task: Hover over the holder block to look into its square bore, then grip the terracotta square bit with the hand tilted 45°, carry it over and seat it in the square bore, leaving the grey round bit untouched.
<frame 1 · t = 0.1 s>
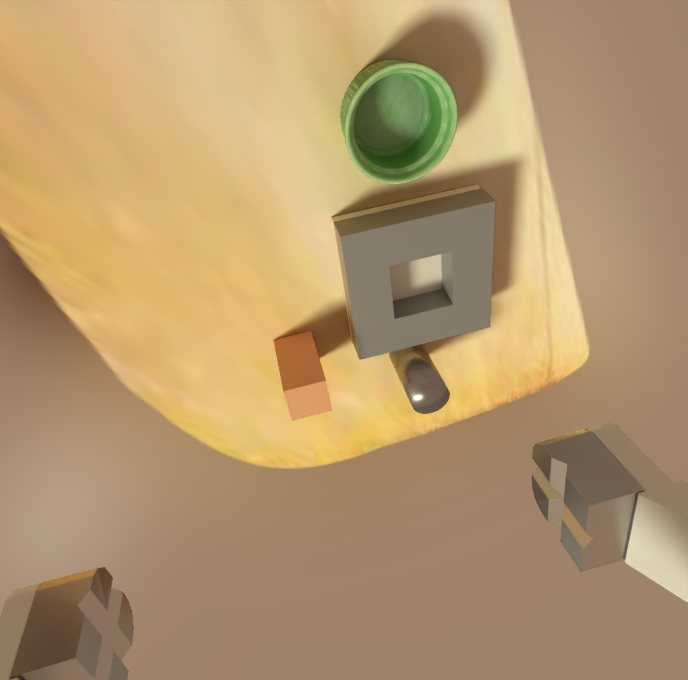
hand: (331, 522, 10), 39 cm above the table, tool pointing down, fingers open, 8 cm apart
round bit: (406, 351, 60), on the table
square bit: (296, 349, 57), on the table
holder block: (409, 265, 54), on the table
ramekin: (385, 111, 45), on the table
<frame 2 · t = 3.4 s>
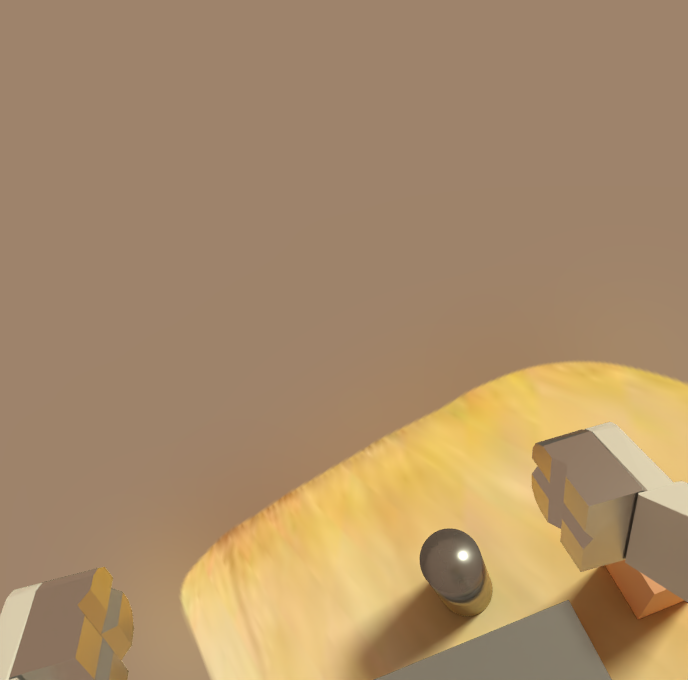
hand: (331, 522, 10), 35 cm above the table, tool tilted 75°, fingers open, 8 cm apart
round bit: (465, 587, 41), on the table
square bit: (646, 579, 38), on the table
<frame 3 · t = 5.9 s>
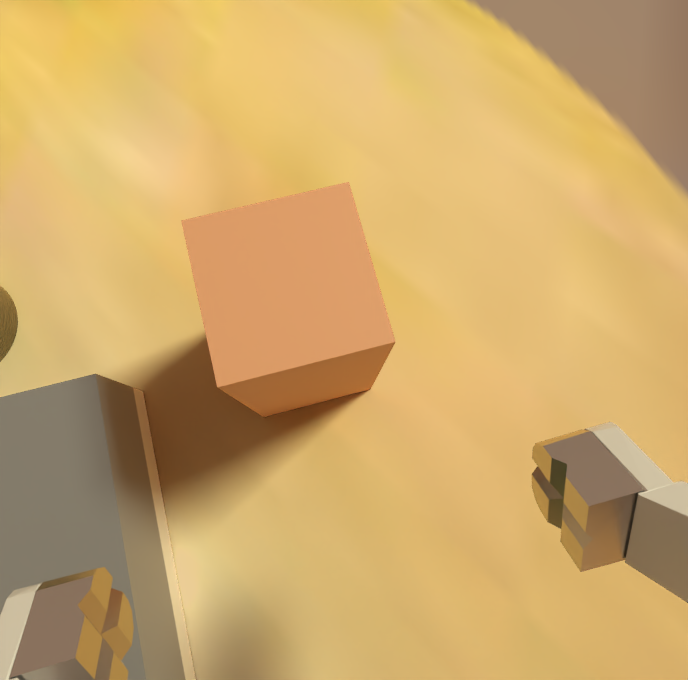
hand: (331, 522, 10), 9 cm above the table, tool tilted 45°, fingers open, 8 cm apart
square bit: (304, 350, 20), on the table
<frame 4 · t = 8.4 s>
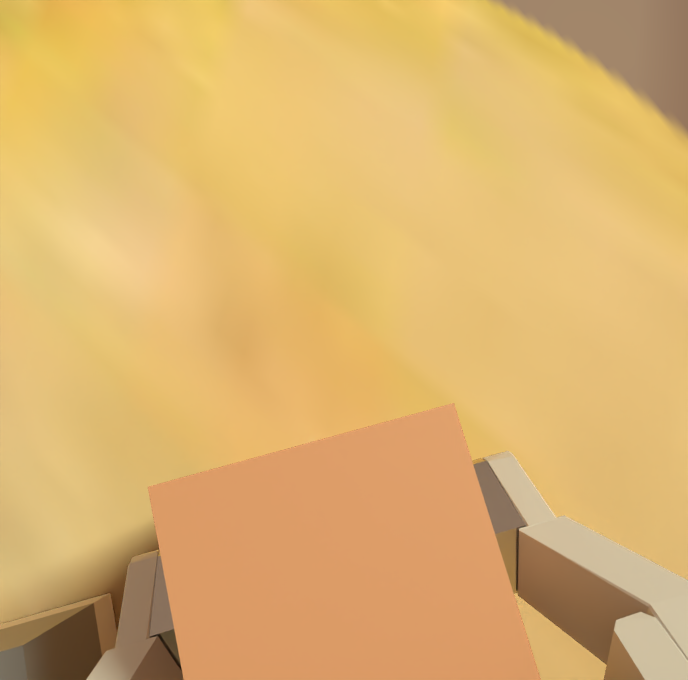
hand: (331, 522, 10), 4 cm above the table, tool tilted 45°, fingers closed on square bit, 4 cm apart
square bit: (337, 527, 14), on the table, touching gripper
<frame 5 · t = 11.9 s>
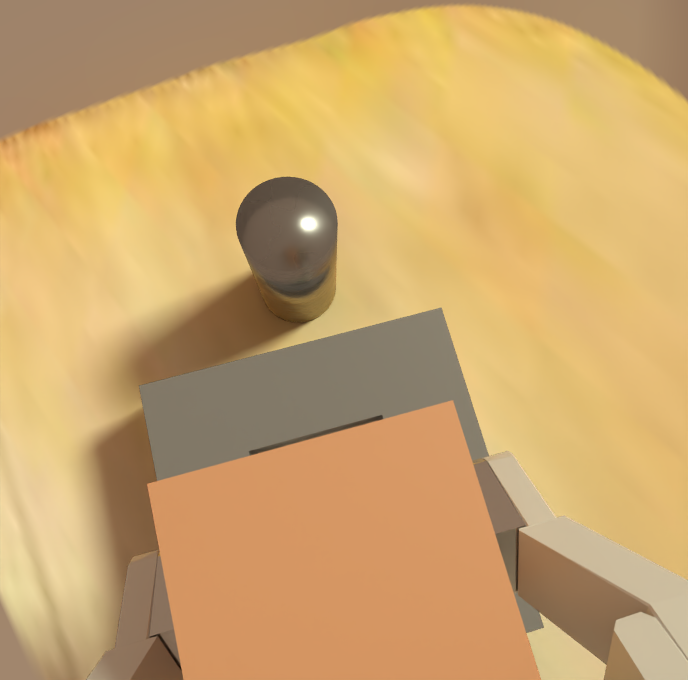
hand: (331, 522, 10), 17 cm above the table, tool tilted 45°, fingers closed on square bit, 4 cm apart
round bit: (298, 286, 29), on the table
square bit: (337, 526, 14), point 13 cm above the table, touching gripper
holder block: (333, 495, 27), on the table
when the fingers open (7 cm above the table, at t = 15.2 s): square bit drops 1 cm, resting on holder block.
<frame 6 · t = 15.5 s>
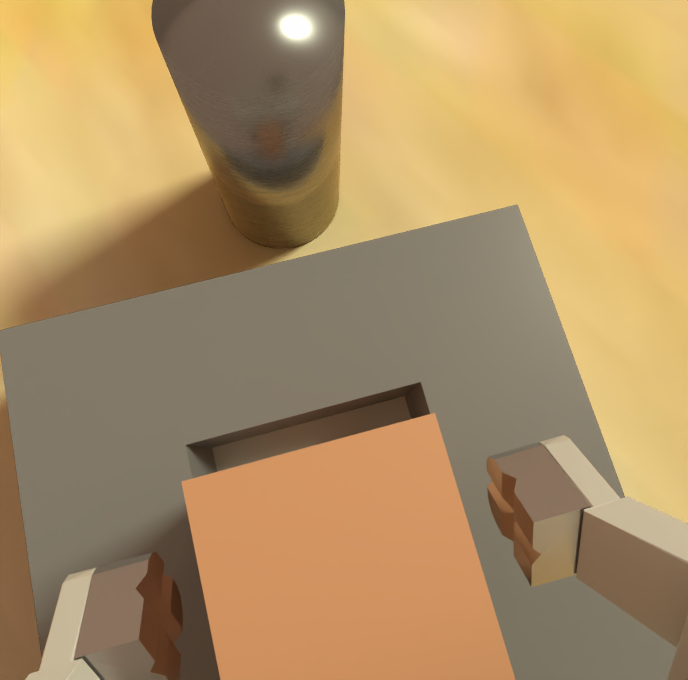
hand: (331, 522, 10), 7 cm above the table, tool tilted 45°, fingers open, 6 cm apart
round bit: (282, 195, 19), on the table
square bit: (336, 520, 16), point 1 cm above the table, touching holder block
holder block: (334, 518, 17), on the table
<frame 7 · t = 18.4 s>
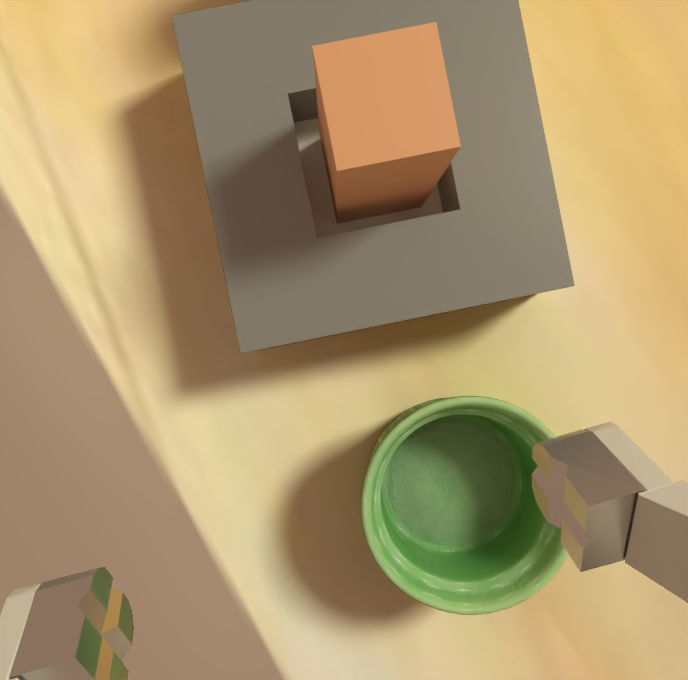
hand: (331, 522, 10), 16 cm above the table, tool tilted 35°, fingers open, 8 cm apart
square bit: (370, 173, 25), point 1 cm above the table, touching holder block
holder block: (368, 179, 26), on the table
ramekin: (448, 477, 26), on the table
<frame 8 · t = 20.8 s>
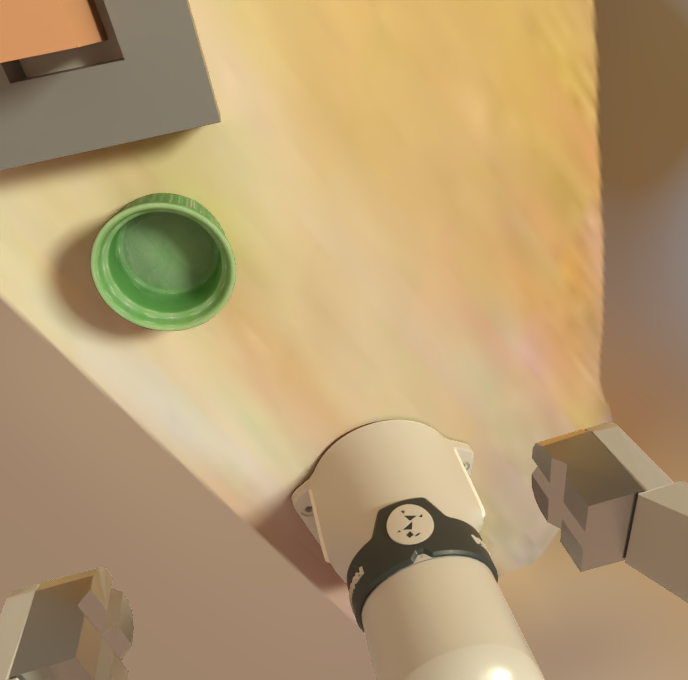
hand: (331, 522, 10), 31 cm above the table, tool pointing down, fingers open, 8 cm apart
square bit: (56, 5, 29), point 1 cm above the table, touching holder block
holder block: (60, 6, 30), on the table
ramekin: (170, 246, 38), on the table
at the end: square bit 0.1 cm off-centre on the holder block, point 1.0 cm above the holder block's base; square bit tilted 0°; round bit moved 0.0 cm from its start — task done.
